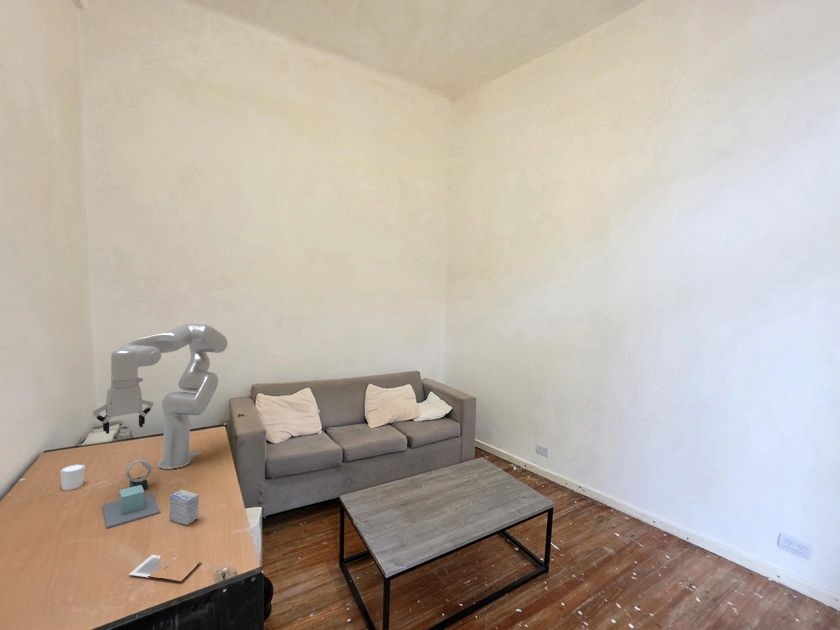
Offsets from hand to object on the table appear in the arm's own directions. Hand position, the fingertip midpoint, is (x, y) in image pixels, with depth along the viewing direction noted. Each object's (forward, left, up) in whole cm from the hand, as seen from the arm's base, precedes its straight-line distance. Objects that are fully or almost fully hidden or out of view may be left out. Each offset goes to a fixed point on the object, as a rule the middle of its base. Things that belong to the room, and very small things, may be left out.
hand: (124, 429), depth 134 cm
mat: (-1, +13, -24) cm, 28 cm away
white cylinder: (+13, -18, -25) cm, 33 cm away
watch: (-5, -2, -25) cm, 25 cm away
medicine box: (-13, +30, -25) cm, 41 cm away
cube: (-1, +13, -24) cm, 27 cm away
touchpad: (-4, +53, -25) cm, 58 cm away
